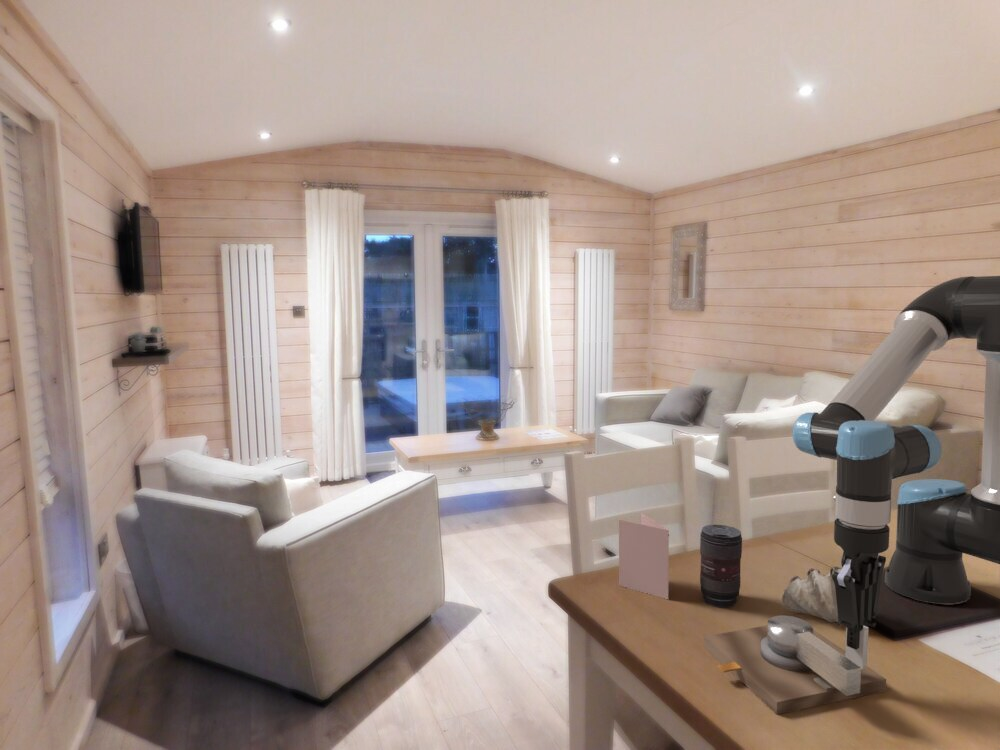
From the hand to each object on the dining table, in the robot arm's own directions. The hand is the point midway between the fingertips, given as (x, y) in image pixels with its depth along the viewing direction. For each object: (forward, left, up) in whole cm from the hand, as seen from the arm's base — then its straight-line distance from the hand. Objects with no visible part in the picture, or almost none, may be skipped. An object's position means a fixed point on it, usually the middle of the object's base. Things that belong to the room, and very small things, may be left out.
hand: (855, 663), depth 106 cm
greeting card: (+16, -42, -4) cm, 45 cm away
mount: (+8, -8, -4) cm, 12 cm away
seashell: (-12, -20, -4) cm, 24 cm away
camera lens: (+3, -33, -4) cm, 33 cm away
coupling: (+6, -3, 0) cm, 7 cm away
